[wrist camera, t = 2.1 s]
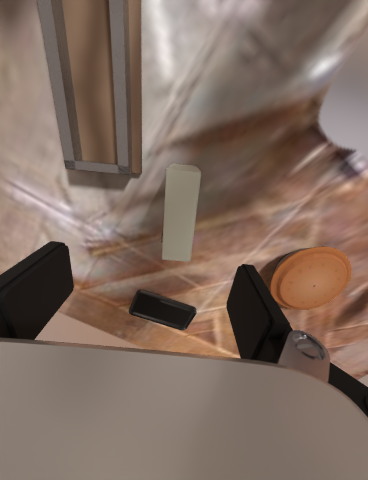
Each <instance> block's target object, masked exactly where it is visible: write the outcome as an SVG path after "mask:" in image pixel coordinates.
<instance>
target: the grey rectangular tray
mask: <svg viewBox="0 0 368 480" xmlns="http://www.w3.org/2000/svg"><path fill="white" fill-rule="evenodd" d="M37 3H38V9H39V15H40V21H41V27H42V33H43V38H44V44H45V50H46V56H47V62H48V68H49V74H50V80H51V86H52V92H53V97H54V103H55V109H56V115H57V121H58V127H59V133H60V139H61V145H62V150H63V156H64V162H65V168H66V169H76V170H86V171H97V172H107V173H117V174H127V175H129V174H131V173H139V174H141V173H142V94H141V0H37Z"/></svg>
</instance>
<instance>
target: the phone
mask: <svg viewBox="0 0 368 480" xmlns="http://www.w3.org/2000/svg"><path fill="white" fill-rule="evenodd" d="M129 313H130V314H131V315H134V316H137V317H140V318H144V319H147V320H150V321H153V322H156V323H160V324H163V325H166V326H169V327H172V328H176V329H179V330H185V329H187V327H188V325H189V324H190V322H191V321H192V319H193V318H194V316H195V315H196V308H195V307H192V306H190V305H187V304H184V303H181V302H178V301H175V300H172V299H169V298H166V297H163V296H160V295H157V294H154V293H151V292H148V291H145V290H138V291H137V293H136V295H135V298H134V300H133V302H132V304H131V307H130V309H129Z"/></svg>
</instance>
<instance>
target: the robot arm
mask: <svg viewBox="0 0 368 480" xmlns="http://www.w3.org/2000/svg"><path fill="white" fill-rule="evenodd" d="M73 288H74V285H73V277H72V270H71V263H70V256H69V249H68V246H65V244H64V243H62V242H54V241H51V242H49V243H47V244H46V245H44V246H43V247H41V248H40V249H38V250H37V251H35V252H34V253H32V254H31V255H29V256H28V257H26V258H25V259H23V260H22V261H20V262H19V263H18V264H16V265H15V266H13V267H12V268H10V269H9V270H7V271H6V272H4V273H3V274H1V275H0V480H368V387H367V386H365V385H364V384H362V383H361V382H359V381H358V380H356V379H355V378H353V377H352V376H350V375H349V374H347V373H346V372H344V371H343V370H341V369H340V368H338V367H337V366H335V365H334V364H332V363H331V362H330V355H329V353H328V351H327V349H326V348H325V346H324V345H323V344H322V343H321V342H320V341H319V340H318V339H317V338H315V337H314V336H312V335H311V334H308V333H306V332H304V331H300V330H293V329H292V328H291V326H290V323H289V322H288V320H287V319H286V317H285V315H284V314H283V312H282V311H281V309H280V307H279V306H278V304H277V303H276V301H275V299H274V298H273V296H272V295H271V293H270V291H269V290H268V288H267V286H266V285H265V283H264V282H263V280H262V278H261V277H260V275H259V274H258V272H257V270H256V269H255V267H254V266H253V265H246V264H242V265H241V266H239V267H238V269H237V272H236V275H235V278H234V281H233V284H232V288H231V291H230V294H229V297H228V300H227V311H228V314H229V318H230V321H231V325H232V328H233V332H234V336H235V339H236V343H237V346H238V350H239V353H240V357H241V359H240V358H231V357H222V356H212V355H201V354H191V353H180V352H169V351H158V350H147V349H135V348H123V347H112V346H101V345H88V344H77V343H64V342H52V341H40V340H39V341H38V340H34V339H35V338H36V337H37V336H38V334H39V333H40V332H41V330H42V329H43V328H44V326H45V325H46V324H47V323H48V322H49V320H50V319H51V318H52V317H53V315H54V314H55V313H56V312H57V310H58V309H59V308H60V307H61V305H62V304H63V303H64V302H65V300H66V299H67V298H68V297H69V295H70V294H71V293H72V291H73Z"/></svg>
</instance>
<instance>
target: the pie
mask: <svg viewBox="0 0 368 480" xmlns="http://www.w3.org/2000/svg"><path fill="white" fill-rule="evenodd" d="M351 271H352V269H351V265H350V261H349V260H348V258H347V257H346V255H345V254H344V253H343V252H341V251H339V250H337V249H335V248H330V247H325V246H322V247H314V248H305V249H299V250H296V251H293V252H291V253H289V254H288V255H286V256H285V257H284V258H283V259H281V260H280V262H279V263H278V264H277V266H276V268H275V271H274V274H273V277H272V280H271V283H270V292H271V295H272V296H273V298H274V299H275V301H276V302H278V303H279V304H280V305H283V306H285V307H287V308H290V309H299V310H309V309H312V308H316V307H319V306H322V305H324V304H326V303H329V302H330V301H331V300H332V299H334V298H335V297H336V296H338V295H339V294H340V293H341V291H342V290H343V289H344V288H345V287H346V286H347V284H348V282H349V281H350V279H351Z"/></svg>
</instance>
